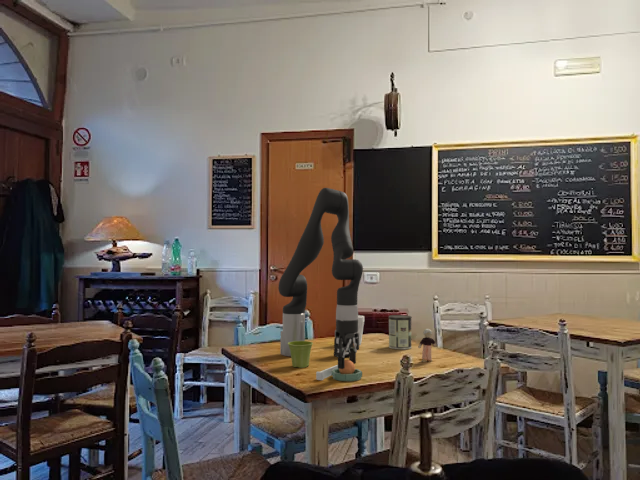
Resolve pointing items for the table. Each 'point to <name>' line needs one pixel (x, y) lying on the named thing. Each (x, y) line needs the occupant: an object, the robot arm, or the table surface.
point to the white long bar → (325, 373)
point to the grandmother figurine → (427, 346)
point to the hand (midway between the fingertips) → (346, 366)
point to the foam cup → (360, 327)
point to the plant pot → (300, 353)
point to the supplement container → (337, 349)
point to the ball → (348, 368)
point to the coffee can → (400, 332)
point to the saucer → (346, 375)
